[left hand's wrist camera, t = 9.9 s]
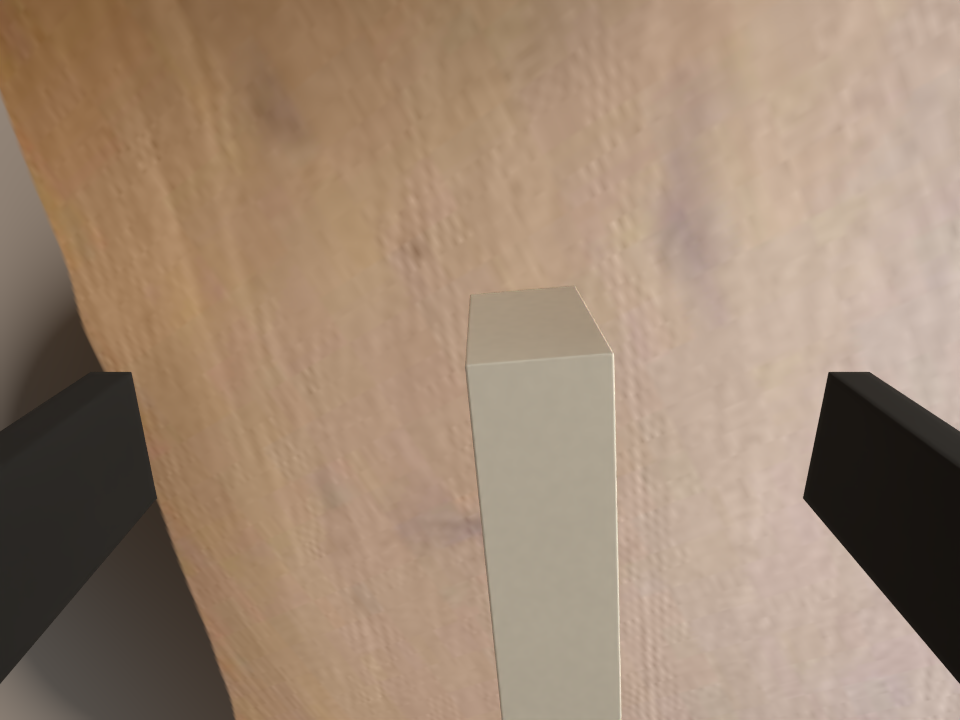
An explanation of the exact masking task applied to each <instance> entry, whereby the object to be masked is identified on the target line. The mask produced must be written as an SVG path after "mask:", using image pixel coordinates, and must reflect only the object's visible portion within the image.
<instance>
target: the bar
mask: <svg viewBox="0 0 960 720" xmlns="http://www.w3.org/2000/svg"><path fill="white" fill-rule="evenodd" d="M465 370H466V380H467V389H468V399H469V409H470V418H471V428H472V438H473V447H474V457H475V466H476V476H477V486H478V495H479V505H480V514H481V524H482V534H483V543H484V553H485V563H486V572H487V582H488V591H489V601H490V611H491V620H492V630H493V640H494V649H495V659H496V668H497V678H498V688H499V697H500V707H501V716H502V720H621V676H620V627H619V578H618V529H617V479H616V430H615V381H614V353H613V352H612V350H611V348H610V346H609V345H608V343H607V341H606V339H605V338H604V336H603V334H602V332H601V331H600V329H599V327H598V325H597V324H596V322H595V320H594V318H593V317H592V315H591V313H590V311H589V310H588V308H587V306H586V304H585V303H584V301H583V299H582V297H581V296H580V294H579V292H578V290H577V289H576V287H575V286H564V287H553V288H541V289H529V290H518V291H506V292H495V293H483V294H472V295H470V305H469V319H468V333H467V347H466V361H465Z"/></svg>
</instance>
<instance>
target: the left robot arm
mask: <svg viewBox="0 0 960 720" xmlns="http://www.w3.org/2000/svg"><path fill="white" fill-rule="evenodd" d="M156 499H157V496H156V491H155V486H154V481H153V476H152V471H151V466H150V462H149V457H148V452H147V447H146V442H145V437H144V432H143V427H142V422H141V417H140V412H139V407H138V402H137V398H136V393H135V388H134V383H133V378H132V373H131V372H90V373H89V374H87V375H86V376H84V377H82V378H81V379H79V380H78V381H76V382H75V383H73V384H72V385H70V386H69V387H67V388H66V389H64V390H63V391H61V392H60V393H58V394H57V395H55V396H54V397H52V398H51V399H49V400H48V401H46V402H44V403H43V404H41V405H40V406H38V407H37V408H35V409H34V410H32V411H31V412H29V413H28V414H26V415H25V416H23V417H22V418H20V419H19V420H17V421H16V422H14V423H12V424H11V425H9V426H8V427H7V428H5V429H3V430H2V431H0V683H1V682H2V681H3V680H4V679H5V677H6V676H7V675H8V674H9V673H10V671H11V670H12V669H13V668H14V667H15V666H16V664H17V663H18V662H19V661H20V660H21V658H22V657H23V656H24V655H25V654H26V653H27V651H28V650H29V649H30V648H31V647H32V645H33V644H34V643H35V642H36V641H37V640H38V638H39V637H40V636H41V635H42V634H43V632H44V631H45V630H46V629H47V628H48V627H49V625H50V624H51V623H52V622H53V621H54V619H55V618H56V617H57V616H58V615H59V614H60V612H61V611H62V610H63V609H64V608H65V606H66V605H67V604H68V603H69V602H70V600H71V599H72V598H73V597H74V596H75V595H76V593H77V592H78V591H79V590H80V589H81V588H82V586H83V585H84V584H85V583H86V582H87V580H88V579H89V578H90V577H91V576H92V575H93V573H94V572H95V571H96V570H97V569H98V567H99V566H100V565H101V564H102V563H103V561H104V560H105V559H106V558H107V557H108V556H109V554H110V553H111V552H112V551H113V550H114V548H115V547H116V546H117V545H118V544H119V543H120V541H121V540H122V539H123V538H124V537H125V535H126V534H127V533H128V532H129V531H130V530H131V528H132V527H133V526H134V525H135V524H136V522H137V521H138V520H139V519H140V518H141V517H142V515H143V514H144V513H145V512H146V511H147V509H148V508H149V507H150V506H151V505H152V503H153V502H154V501H155V500H156ZM803 499H804V500H805V501H806V502H807V503H808V505H809V506H810V507H811V508H812V509H813V511H814V512H815V513H816V514H817V515H818V517H819V518H820V519H821V520H822V521H823V522H824V524H825V525H826V526H827V527H828V528H829V530H830V531H831V532H832V533H833V534H834V535H835V537H836V538H837V539H838V540H839V541H840V543H841V544H842V545H843V546H844V547H845V548H846V550H847V551H848V552H849V553H850V554H851V556H852V557H853V558H854V559H855V560H856V561H857V563H858V564H859V565H860V566H861V567H862V569H863V570H864V571H865V572H866V573H867V575H868V576H869V577H870V578H871V579H872V580H873V582H874V583H875V584H876V585H877V586H878V588H879V589H880V590H881V591H882V592H883V593H884V595H885V596H886V597H887V598H888V599H889V601H890V602H891V603H892V604H893V605H894V606H895V608H896V609H897V610H898V611H899V612H900V614H901V615H902V616H903V617H904V618H905V619H906V621H907V622H908V623H909V624H910V625H911V627H912V628H913V629H914V630H915V631H916V632H917V634H918V635H919V636H920V637H921V638H922V640H923V641H924V642H925V643H926V644H927V646H928V647H929V648H930V649H931V650H932V651H933V653H934V654H935V655H936V656H937V657H938V659H939V660H940V661H941V662H942V663H943V664H944V666H945V667H946V668H947V669H948V670H949V672H950V673H951V674H952V675H953V676H954V677H955V679H956V680H957V681H958V682H959V683H960V431H958V430H957V429H955V428H954V427H952V426H951V425H949V424H948V423H946V422H944V421H943V420H941V419H940V418H938V417H937V416H935V415H934V414H932V413H931V412H929V411H928V410H926V409H925V408H923V407H922V406H920V405H919V404H917V403H916V402H914V401H913V400H911V399H910V398H908V397H906V396H905V395H903V394H902V393H900V392H899V391H897V390H896V389H894V388H893V387H891V386H890V385H888V384H887V383H885V382H884V381H882V380H881V379H879V378H878V377H876V376H875V375H873V374H872V373H870V372H829V373H828V378H827V383H826V388H825V393H824V398H823V402H822V407H821V412H820V417H819V422H818V427H817V432H816V437H815V442H814V447H813V452H812V457H811V462H810V466H809V471H808V476H807V481H806V486H805V491H804V496H803Z"/></svg>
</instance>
